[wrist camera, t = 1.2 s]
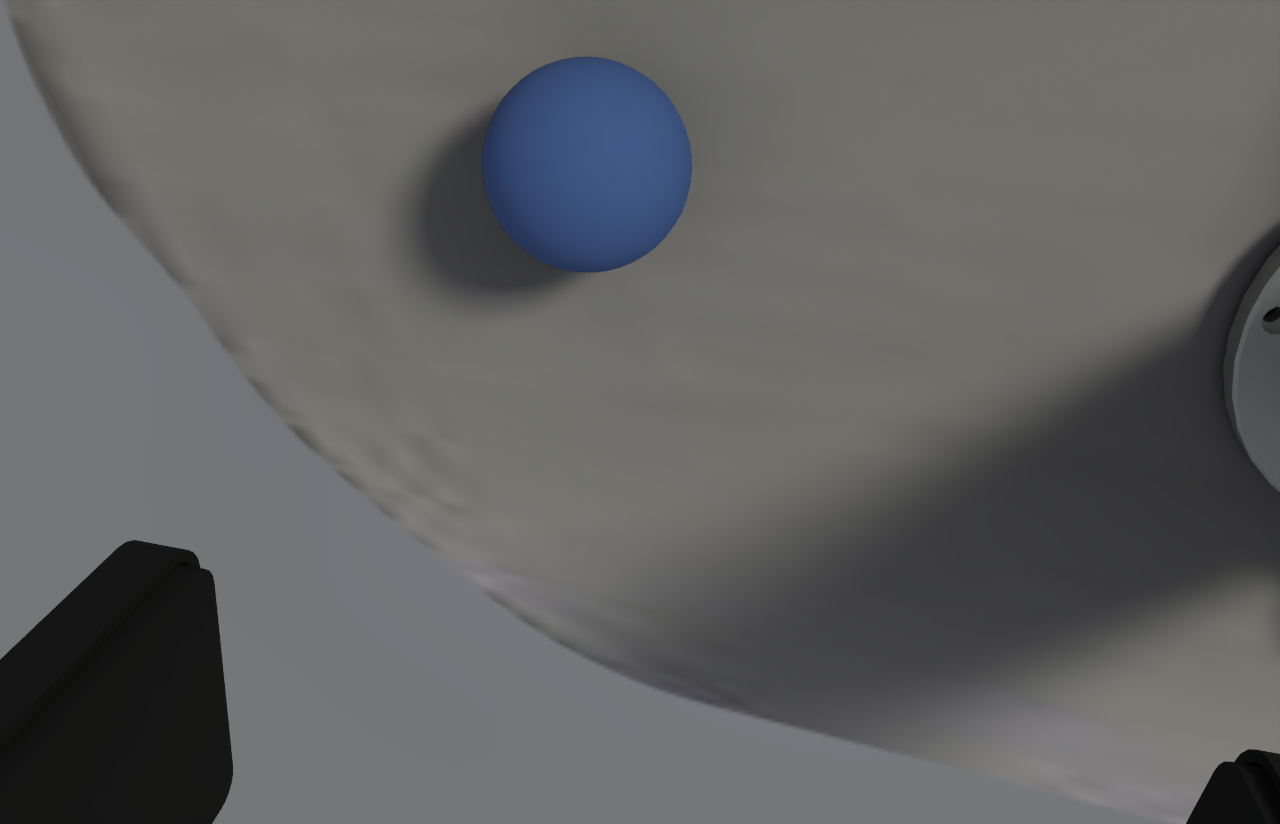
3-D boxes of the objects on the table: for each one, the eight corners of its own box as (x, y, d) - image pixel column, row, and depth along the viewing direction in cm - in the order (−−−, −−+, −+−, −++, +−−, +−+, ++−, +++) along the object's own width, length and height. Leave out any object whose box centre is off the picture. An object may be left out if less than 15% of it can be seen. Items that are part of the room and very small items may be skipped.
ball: (728, 203, 32) (709, 263, 26) (559, 261, 34) (509, 328, 28) (661, 13, 30) (625, 36, 24) (484, 86, 31) (414, 123, 26)
